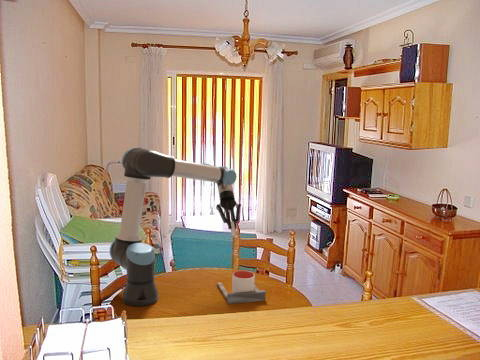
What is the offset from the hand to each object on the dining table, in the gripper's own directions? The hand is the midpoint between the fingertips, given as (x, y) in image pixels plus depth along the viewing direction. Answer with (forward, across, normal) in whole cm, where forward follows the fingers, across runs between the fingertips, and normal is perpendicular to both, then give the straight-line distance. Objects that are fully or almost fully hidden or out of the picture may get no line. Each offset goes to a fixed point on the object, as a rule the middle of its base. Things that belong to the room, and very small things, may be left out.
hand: (233, 234), depth 199 cm
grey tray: (+25, 0, +8) cm, 27 cm away
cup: (+28, +1, +5) cm, 29 cm away
